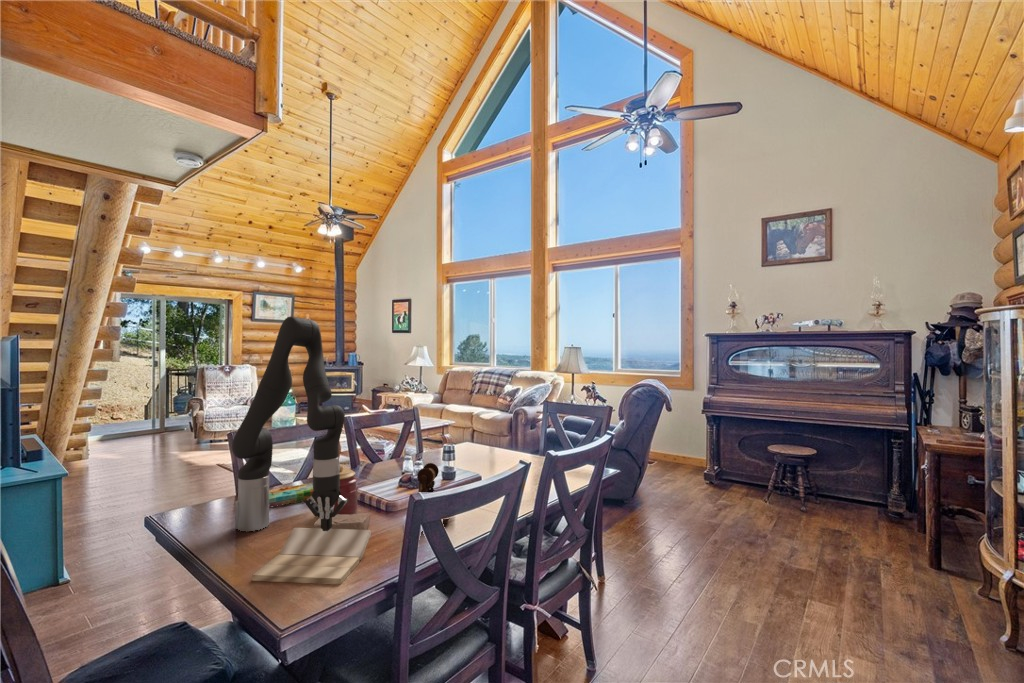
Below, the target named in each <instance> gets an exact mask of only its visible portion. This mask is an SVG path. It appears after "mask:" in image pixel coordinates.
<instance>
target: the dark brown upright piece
mask: <svg viewBox="0 0 1024 683" xmlns="http://www.w3.org/2000/svg"><path fill="white" fill-rule="evenodd" d="M438 475H439V468H438V465H436V464H435V463H432V462H429V463H426V464H424V466H423V468H420V469H419V471H417V474H416V476H417V477H416V478H417V480H418V491H417V493H418V492H433V491H436V490H434V488H435V485H436V481H435V478H437V477H438ZM449 521H450V518H449V519H443V523H444V524H446V523H448V522H449Z"/></svg>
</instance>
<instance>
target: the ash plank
mask: <svg viewBox="0 0 1024 683" xmlns="http://www.w3.org/2000/svg"><path fill="white" fill-rule="evenodd" d="M371 535H372V530H371V529H366V530H354V529H330V530H329V531H322V529H321V528H313V527H293V528H292V530H291V532H290V533H289V536H288V538H287V539H286V542H284V545H283V547H282V548H281V550H280V552H279V555H306V556H333V557H359V561H361V560H362V559H363V556H364V554H365V551H366V548H367V545H368V542H369V540H370V537H371Z"/></svg>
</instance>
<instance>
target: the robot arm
mask: <svg viewBox="0 0 1024 683" xmlns="http://www.w3.org/2000/svg"><path fill="white" fill-rule="evenodd" d="M276 336H277V337H276V340H275V343H274V347H273V350H272V352H271V356H270V359H269V360H268V363H267V366H266V368H265V371H264V372H263V374H262V376H261V379H260V381H259V384H258V387H257V388H256V392H255V395H254V397H253V399H252V400H251V403H250V406H249V408H248V410H247V412H246V414H245V416H244V419H242V422H241V423H240V425H239V427H238V429H237V431H236V433H235V434H234V436H233V439H232V442H231V444H232V445H231V448H232V449H231V450H232V453H233V455H234V457H236V458H238V459H241V460H245V459H248V460H247V462H245V463H244V464H243V465H242V466H241V467H240V468H239V469H238V472H237V485H238V486H237V487H238V488H237V494H238V495H237V496H238V497H237V500H235V504H234V511H235V512H234V513H235V514H234V523H235V524H234V525H235V527H234V528H235V529H238V530H237V531H239V530H240V531H239V532H241V531H246V532H245V533H248V532H247V531H253V532H256V531H255V530H258V531H261V530H264V529H266V528H268V527H269V526H270V505H269V490H270V469H271V467H272V464H273V446H274V443H273V437H272V433H271V432H270V431H269V430H268V429H267V428H266V427H264V426H265V425H266V423H267V422H268V421H269V419H270V418H271V417H272V416H274V414H276V412H277V411H278V410H279V409H280V408H281V407H282V406H283V404H284V403H285V401H286V399H287V398H288V395H289V393H290V391H291V388H292V385H293V377H292V373H291V369H290V366H289V357H290V353H291V350H292V348H293V346H295V347H303V348H305V350H306V352H307V355H308V360H307V363H306V365H305V368H304V370H303V374H302V383H303V387H304V391H305V395H306V397H307V398H306V399H307V400H306V401H307V412H306V413H307V414H306V424H307V425H308V427H309V429H310V430H312V431H314V432H318V431H319V432H320V431H326V430H327V432H326V434H325V435H322V436H321V437H318V438H316V439H314V442H313V462H312V483H313V493H312V496H311V497H310V498H308V499H307V500H305V501H304V503H305V505H306V506H307V508H308V509H309V510H310V511H311V513H312V514H313V516H314V517H318V518H319V517H320V518H321V529H322V531H329V530H330V528H331V527H332V517H335V516H336V515H337V514H338V513H339V512H340V511H341V509H342V508H343V507H344V505H345V504H346V503H347V501H348V499H347V498H345V499H344V498H343V497H342V496H341V492H340V490H339V487H340V465H341V464H340V458H339V457H340V454H339V452H340V448H339V446H340V445H339V444H340V441H341V440H340V438H341V435H342V430H343V427H344V425H345V420H346V419H345V418H346V417H345V416H346V415H345V411H344V409H343V408H342V406H340V405H337V404H336V405H334V404H332V405H324V406H323V405H322V406H321V404H323V403H326V402H327V401H329V400H330V399H331V398H332V394H333V393H332V389H331V386H330V382H329V380H328V376H327V373H326V367H325V362H324V361H325V359H324V349H323V348H324V347H323V342H322V332H321V328H320V326H319V324H318V323H317V322H316V321H315V320H314V319H310V318H309V319H308V318H302V317H298V316H291V315H290V316H287V317H286V318H284V320H283V321H282V322H281V324H280V328H279V331H278V334H277V335H276ZM337 500H338V504H339V505H338V506H337V507H336V509H335V510H334V511H333V509H334V504H335V503H336V502H337ZM268 525H269V526H268ZM265 527H266V528H265ZM263 528H264V529H263ZM260 529H261V530H260Z"/></svg>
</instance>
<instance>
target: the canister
mask: <svg viewBox="0 0 1024 683" xmlns="http://www.w3.org/2000/svg"><path fill="white" fill-rule="evenodd" d="M355 475H356V471H354V470H352V469H351V468H345V467H343V465H342V464H340V487H339V490H340V492H341V496H342V497H343V498H344V499H345V498H347V499H348V501H347V503H346V504H345V505H344V507H343V508H342V509H341V511H340V512H339V513H338V514H340V515H344V514H346V515H348V514H349V515H351V514H357V511H358V508H359V506H358V505H359V502H358V489H359V488H358V486H357V483H358V481H359V479H358V477H356V476H355ZM338 505H339V504H338V500H337V502H336V503H335V504H334V509H333V511H334V510H335V509H336V507H337V506H338Z"/></svg>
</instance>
